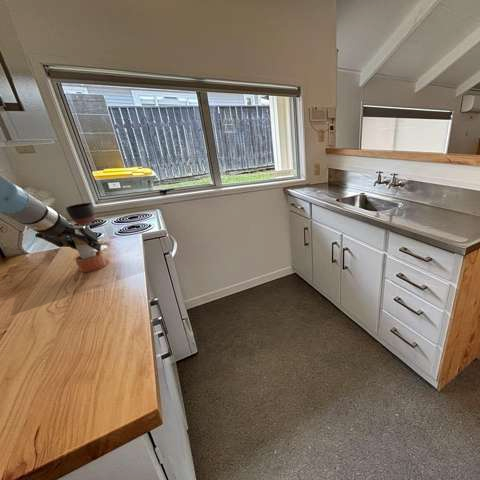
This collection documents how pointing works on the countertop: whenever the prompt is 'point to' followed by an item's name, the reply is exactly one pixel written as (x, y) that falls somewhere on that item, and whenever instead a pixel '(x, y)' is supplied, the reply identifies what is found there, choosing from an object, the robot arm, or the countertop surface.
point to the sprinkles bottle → (84, 249)
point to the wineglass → (83, 215)
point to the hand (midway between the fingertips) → (92, 248)
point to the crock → (91, 262)
